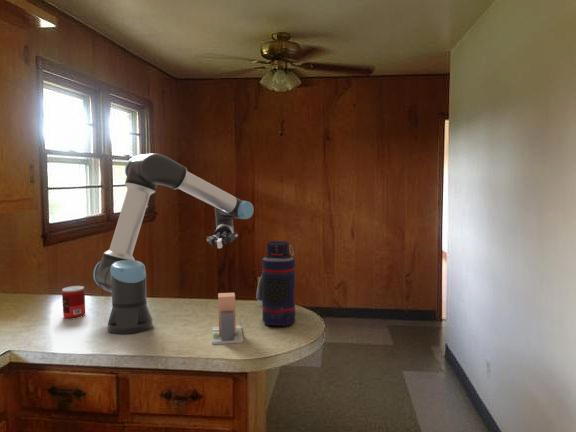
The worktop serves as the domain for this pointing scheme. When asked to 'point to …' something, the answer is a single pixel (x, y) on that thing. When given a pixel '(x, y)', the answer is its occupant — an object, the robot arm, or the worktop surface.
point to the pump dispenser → (259, 291)
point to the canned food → (73, 302)
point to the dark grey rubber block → (227, 326)
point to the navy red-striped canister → (278, 285)
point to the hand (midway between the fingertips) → (219, 244)
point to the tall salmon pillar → (226, 308)
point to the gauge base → (217, 340)
